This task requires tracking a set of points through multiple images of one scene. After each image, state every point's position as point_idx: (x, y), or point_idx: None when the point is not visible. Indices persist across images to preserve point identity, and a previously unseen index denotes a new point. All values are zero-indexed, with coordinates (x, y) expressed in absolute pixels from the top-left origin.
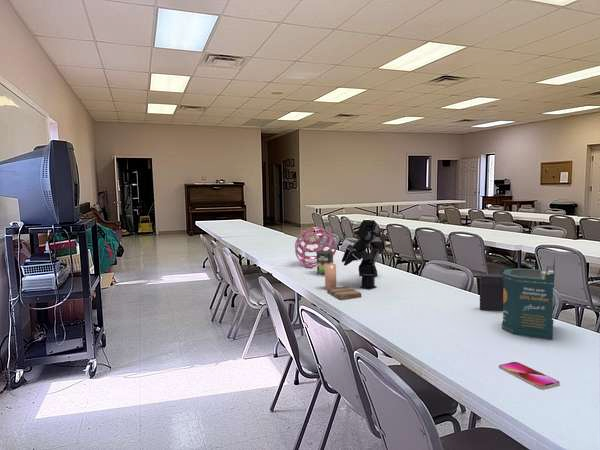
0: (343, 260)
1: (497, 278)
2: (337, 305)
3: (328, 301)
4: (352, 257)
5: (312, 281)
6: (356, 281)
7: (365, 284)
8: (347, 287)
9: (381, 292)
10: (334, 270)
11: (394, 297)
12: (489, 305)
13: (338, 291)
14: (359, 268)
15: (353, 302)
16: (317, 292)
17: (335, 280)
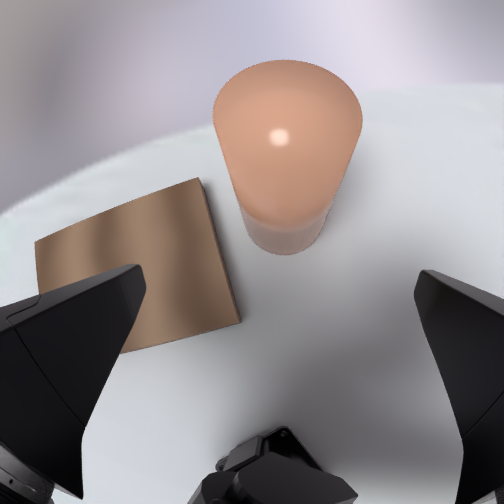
0: (426, 301)
1: None
2: (3, 223)
3: (51, 188)
4: (26, 416)
5: (464, 142)
6: (450, 413)
7: (227, 461)
8: (192, 320)
9: (145, 499)
10: (235, 178)
11: (62, 500)
12: None
13: (109, 240)
14: (233, 483)
15: (12, 299)
16: (215, 136)
17: (253, 225)
